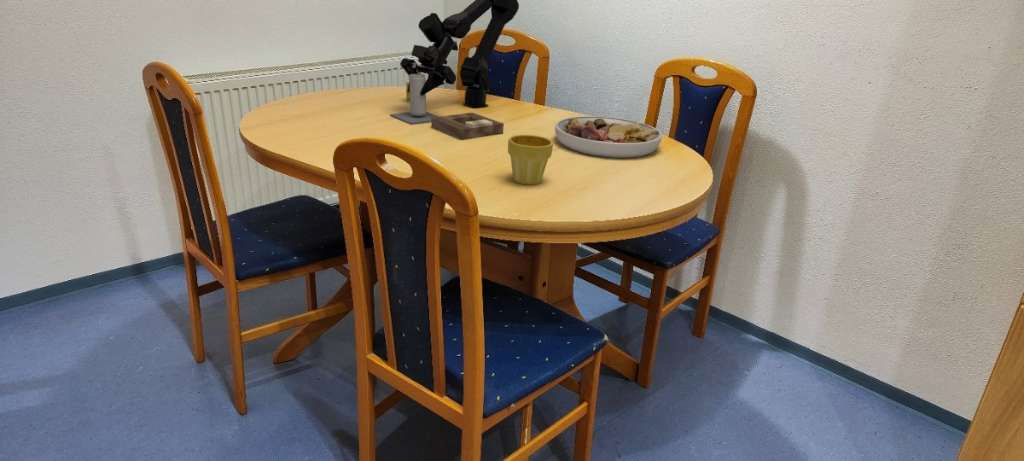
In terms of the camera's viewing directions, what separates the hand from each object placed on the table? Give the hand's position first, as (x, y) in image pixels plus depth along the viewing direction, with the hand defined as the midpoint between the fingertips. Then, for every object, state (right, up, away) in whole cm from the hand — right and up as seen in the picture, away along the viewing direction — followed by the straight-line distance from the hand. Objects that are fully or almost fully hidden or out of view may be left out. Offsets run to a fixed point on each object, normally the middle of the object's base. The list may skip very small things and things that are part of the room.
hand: (414, 93), depth 202 cm
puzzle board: (+16, -12, -6) cm, 21 cm away
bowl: (+56, -17, -11) cm, 60 cm away
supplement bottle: (-4, +2, +24) cm, 24 cm away
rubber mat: (0, -7, +4) cm, 8 cm away
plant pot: (+33, -30, -44) cm, 63 cm away
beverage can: (+1, -6, +4) cm, 7 cm away
